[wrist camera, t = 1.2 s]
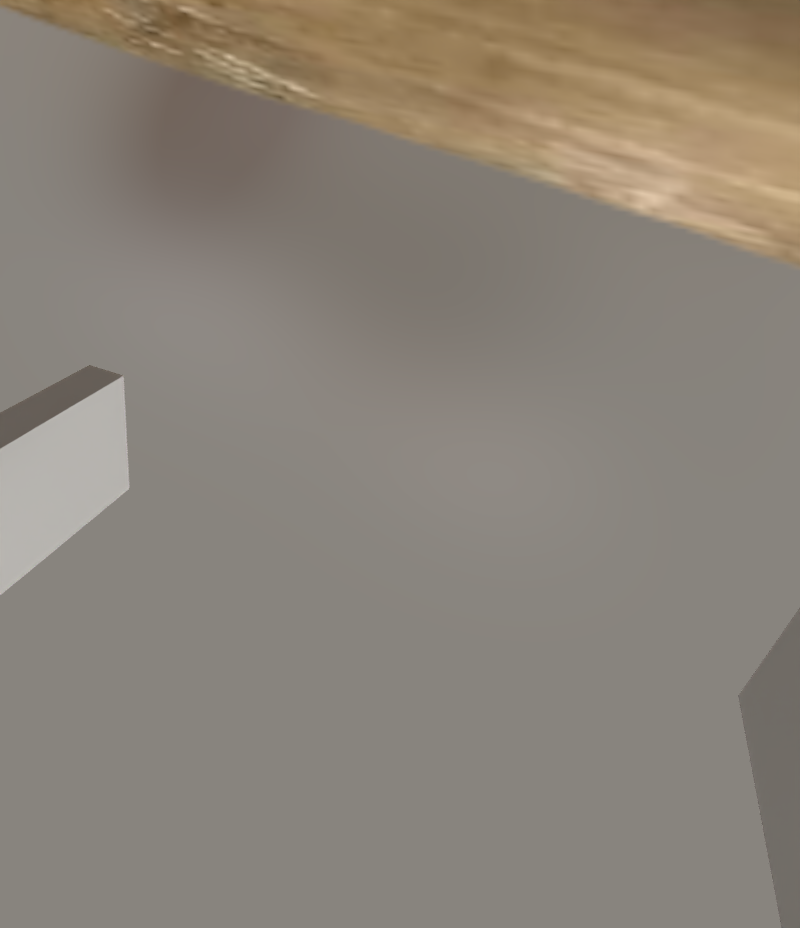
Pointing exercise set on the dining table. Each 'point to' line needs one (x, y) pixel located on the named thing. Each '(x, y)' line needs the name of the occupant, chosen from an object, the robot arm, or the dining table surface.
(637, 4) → the dining table surface
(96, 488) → the robot arm
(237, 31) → the dining table surface
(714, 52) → the dining table surface
